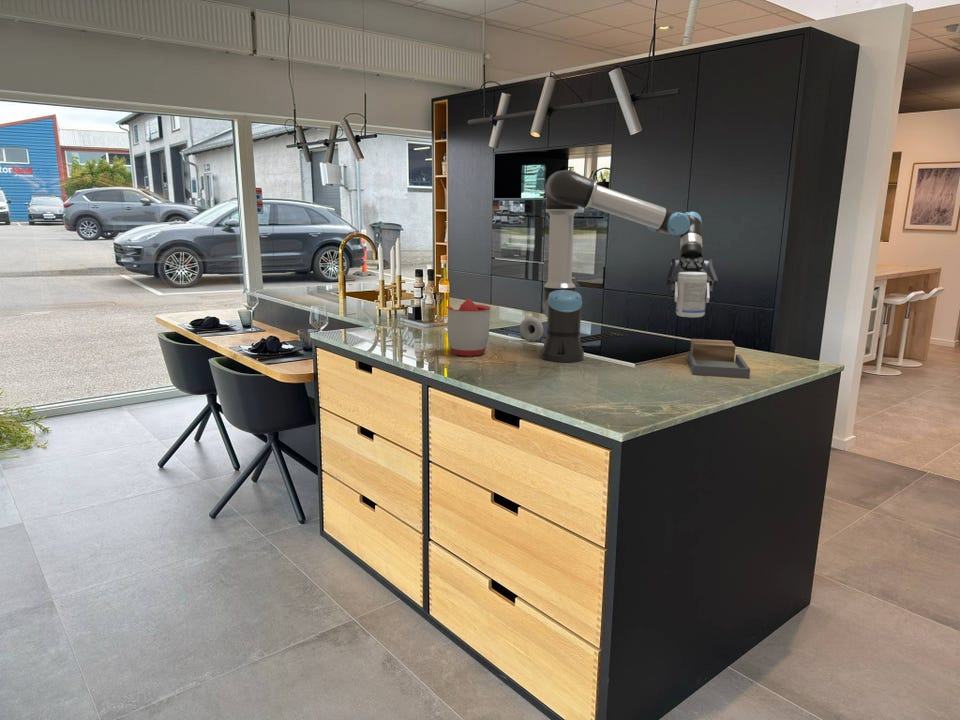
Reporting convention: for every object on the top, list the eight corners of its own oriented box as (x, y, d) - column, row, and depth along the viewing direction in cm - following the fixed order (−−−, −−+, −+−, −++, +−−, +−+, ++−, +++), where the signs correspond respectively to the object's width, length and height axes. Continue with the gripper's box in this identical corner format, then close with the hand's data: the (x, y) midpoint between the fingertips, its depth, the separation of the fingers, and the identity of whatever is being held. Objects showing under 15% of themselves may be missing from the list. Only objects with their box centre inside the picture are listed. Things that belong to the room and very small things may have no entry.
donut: (544, 342, 268) (545, 317, 266) (540, 343, 265) (541, 318, 263) (521, 339, 273) (522, 314, 271) (517, 340, 270) (518, 316, 268)
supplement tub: (710, 316, 231) (713, 273, 228) (691, 318, 226) (695, 274, 223) (687, 312, 239) (690, 270, 236) (669, 314, 234) (672, 272, 231)
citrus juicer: (465, 346, 257) (466, 294, 253) (498, 354, 245) (499, 299, 241) (434, 352, 247) (434, 297, 242) (467, 360, 235) (467, 303, 230)
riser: (689, 354, 250) (691, 338, 249) (729, 356, 247) (731, 340, 246) (692, 360, 241) (693, 343, 239) (733, 363, 238) (735, 346, 237)
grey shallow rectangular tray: (687, 359, 242) (687, 351, 241) (738, 362, 238) (739, 354, 237) (692, 374, 220) (693, 365, 220) (749, 378, 217) (750, 369, 216)
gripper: (722, 256, 241) (724, 307, 229) (658, 255, 245) (657, 305, 234) (725, 242, 235) (728, 293, 223) (659, 241, 239) (658, 292, 228)
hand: (691, 299), depth 229 cm, fingers closed on supplement tub, 9 cm apart
